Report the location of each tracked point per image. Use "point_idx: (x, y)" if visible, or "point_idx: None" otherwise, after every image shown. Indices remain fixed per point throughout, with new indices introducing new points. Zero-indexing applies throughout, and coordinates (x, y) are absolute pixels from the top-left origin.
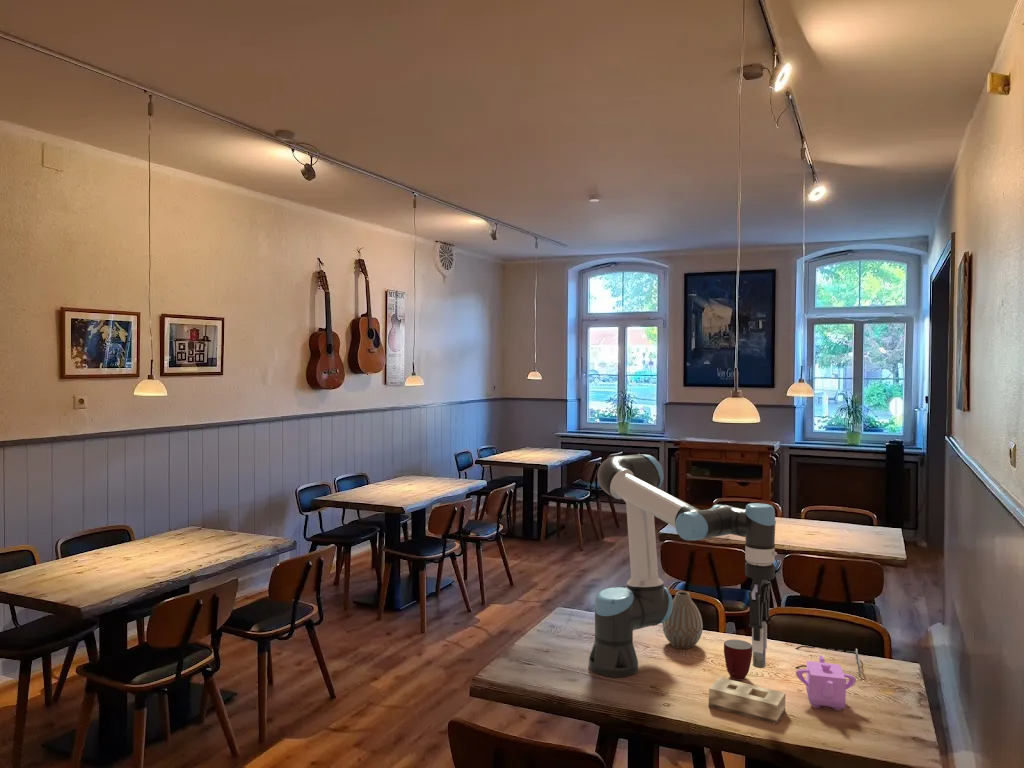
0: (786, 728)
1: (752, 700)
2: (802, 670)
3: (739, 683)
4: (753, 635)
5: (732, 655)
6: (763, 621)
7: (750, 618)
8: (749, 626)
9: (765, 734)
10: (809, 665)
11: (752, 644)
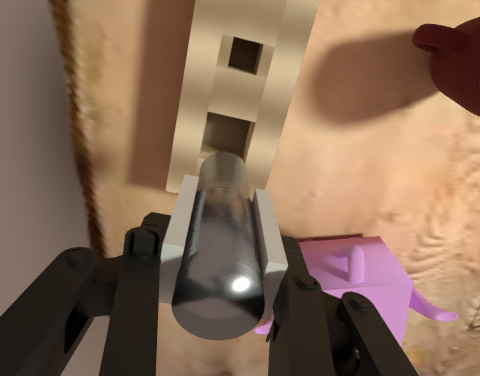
0: (164, 190)
1: (176, 124)
2: (352, 268)
3: (283, 79)
4: (140, 226)
5: (468, 45)
6: (220, 327)
7: (19, 303)
8: (132, 233)
9: (108, 146)
10: (377, 289)
11: (180, 190)
